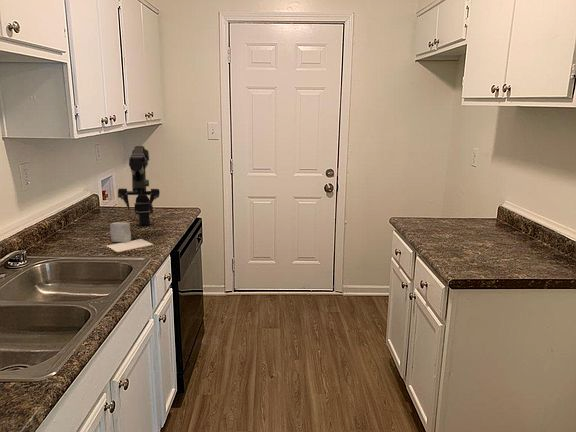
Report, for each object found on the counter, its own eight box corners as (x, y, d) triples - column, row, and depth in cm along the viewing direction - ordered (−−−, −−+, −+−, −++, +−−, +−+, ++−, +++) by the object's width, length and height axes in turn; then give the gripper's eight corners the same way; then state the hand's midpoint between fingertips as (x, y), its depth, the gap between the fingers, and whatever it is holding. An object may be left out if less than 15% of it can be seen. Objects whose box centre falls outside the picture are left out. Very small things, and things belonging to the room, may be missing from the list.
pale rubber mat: (106, 246, 212) (106, 245, 212) (141, 239, 223) (141, 238, 223) (117, 252, 203) (117, 251, 203) (153, 244, 214) (153, 244, 214)
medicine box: (131, 240, 220) (129, 222, 219) (125, 242, 216) (124, 224, 214) (117, 239, 222) (115, 221, 221) (111, 241, 218) (109, 223, 217)
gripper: (117, 172, 213) (118, 205, 209) (159, 173, 220) (161, 204, 215) (117, 181, 223) (118, 212, 219) (158, 182, 229) (159, 212, 225)
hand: (139, 210), depth 219 cm, fingers open, 9 cm apart
